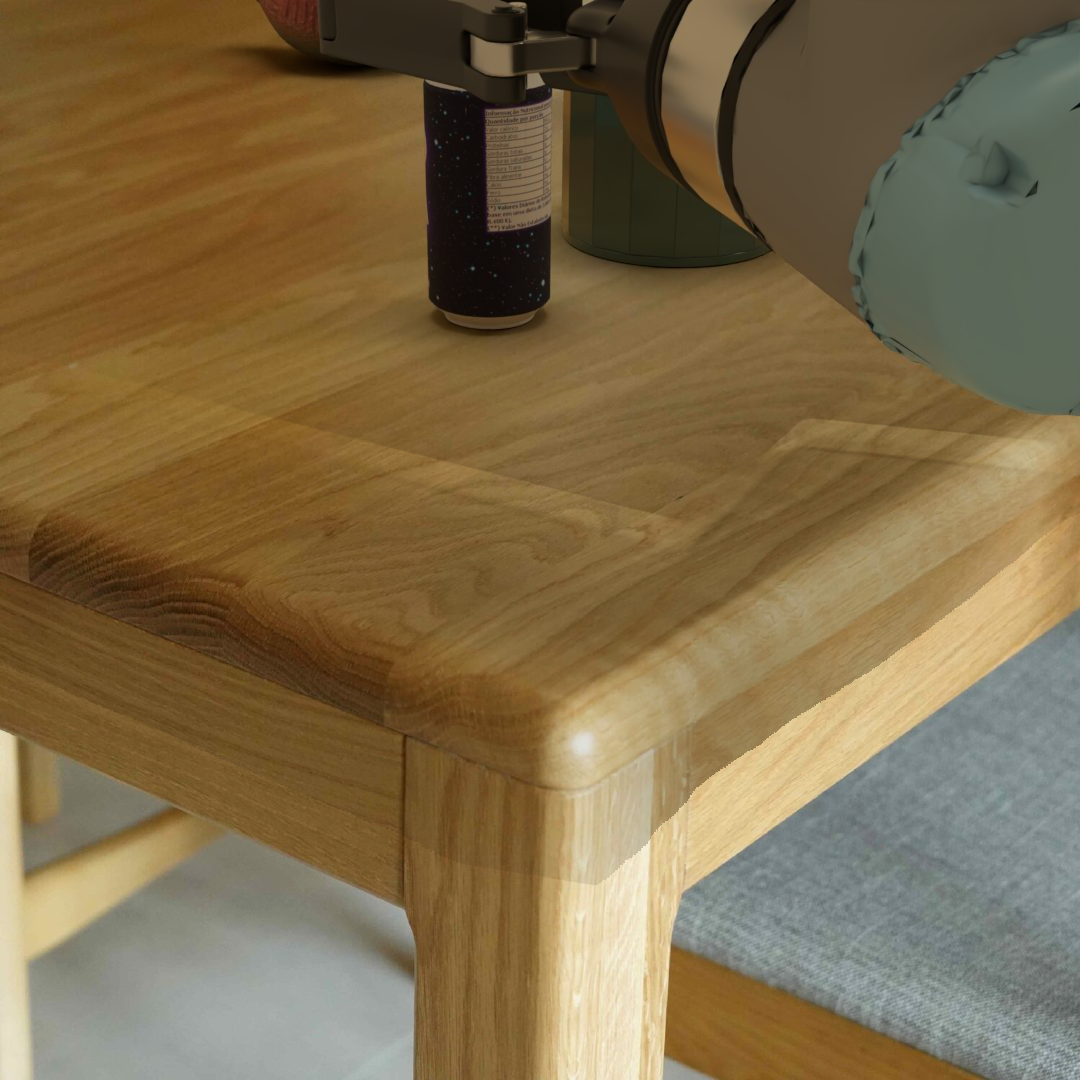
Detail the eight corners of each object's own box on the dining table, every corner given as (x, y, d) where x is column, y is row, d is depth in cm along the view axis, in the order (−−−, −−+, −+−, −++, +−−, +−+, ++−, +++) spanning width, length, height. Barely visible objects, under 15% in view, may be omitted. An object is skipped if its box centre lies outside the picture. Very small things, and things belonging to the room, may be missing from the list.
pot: (794, 200, 95) (807, 31, 91) (758, 292, 80) (772, 95, 76) (598, 186, 97) (601, 21, 93) (528, 273, 83) (528, 81, 78)
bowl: (435, 48, 135) (433, -55, 132) (424, 80, 124) (421, -31, 120) (240, 46, 135) (232, -56, 132) (211, 78, 124) (202, -33, 120)
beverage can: (539, 292, 80) (541, 38, 74) (559, 331, 75) (563, 63, 69) (423, 297, 79) (416, 41, 74) (435, 338, 74) (429, 66, 69)
